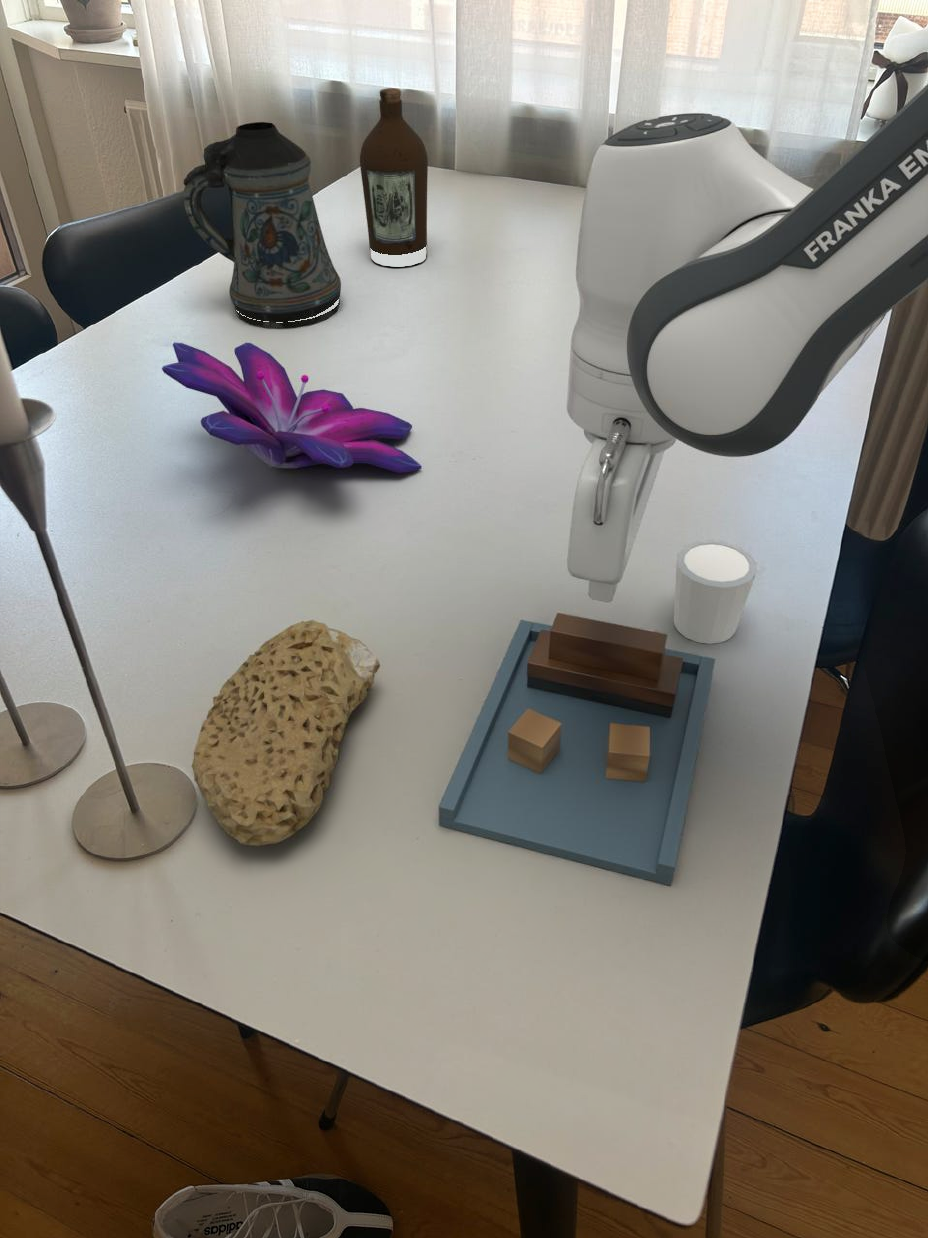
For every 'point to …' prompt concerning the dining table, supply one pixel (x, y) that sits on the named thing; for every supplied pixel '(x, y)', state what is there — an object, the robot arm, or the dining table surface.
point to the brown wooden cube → (534, 740)
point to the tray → (579, 773)
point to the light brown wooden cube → (628, 752)
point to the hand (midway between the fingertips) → (615, 557)
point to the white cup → (711, 589)
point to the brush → (605, 665)
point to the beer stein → (267, 228)
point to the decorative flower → (288, 414)
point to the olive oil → (394, 181)
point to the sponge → (280, 731)
